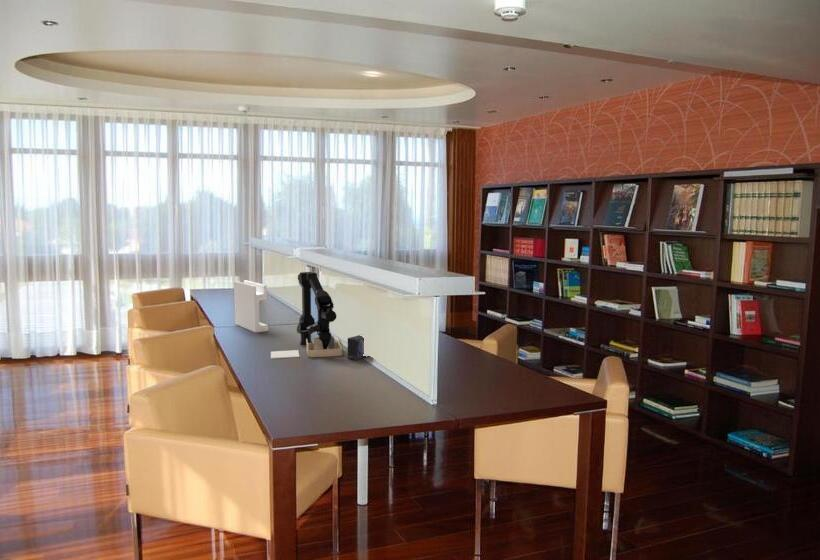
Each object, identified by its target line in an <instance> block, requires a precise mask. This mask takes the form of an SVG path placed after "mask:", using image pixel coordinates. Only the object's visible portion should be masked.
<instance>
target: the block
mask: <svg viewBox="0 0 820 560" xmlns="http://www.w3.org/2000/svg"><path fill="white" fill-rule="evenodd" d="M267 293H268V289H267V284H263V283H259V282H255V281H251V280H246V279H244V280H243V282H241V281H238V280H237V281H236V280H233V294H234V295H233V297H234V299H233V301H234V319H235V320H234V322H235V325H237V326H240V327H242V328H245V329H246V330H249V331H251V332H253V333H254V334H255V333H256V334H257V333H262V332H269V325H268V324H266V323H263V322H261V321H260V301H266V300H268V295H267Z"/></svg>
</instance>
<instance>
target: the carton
mask: <svg viewBox="0 0 820 560" xmlns="http://www.w3.org/2000/svg"><path fill="white" fill-rule="evenodd" d="M305 345H306V353H307V357H308V358H319V357H320V358H322V357H342V356H343V355H344V346H343V341H342V340H341V338H340V337H338V341H334V349H323V350H314V342H312V343H308V341H307V339H306V344H305Z"/></svg>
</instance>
